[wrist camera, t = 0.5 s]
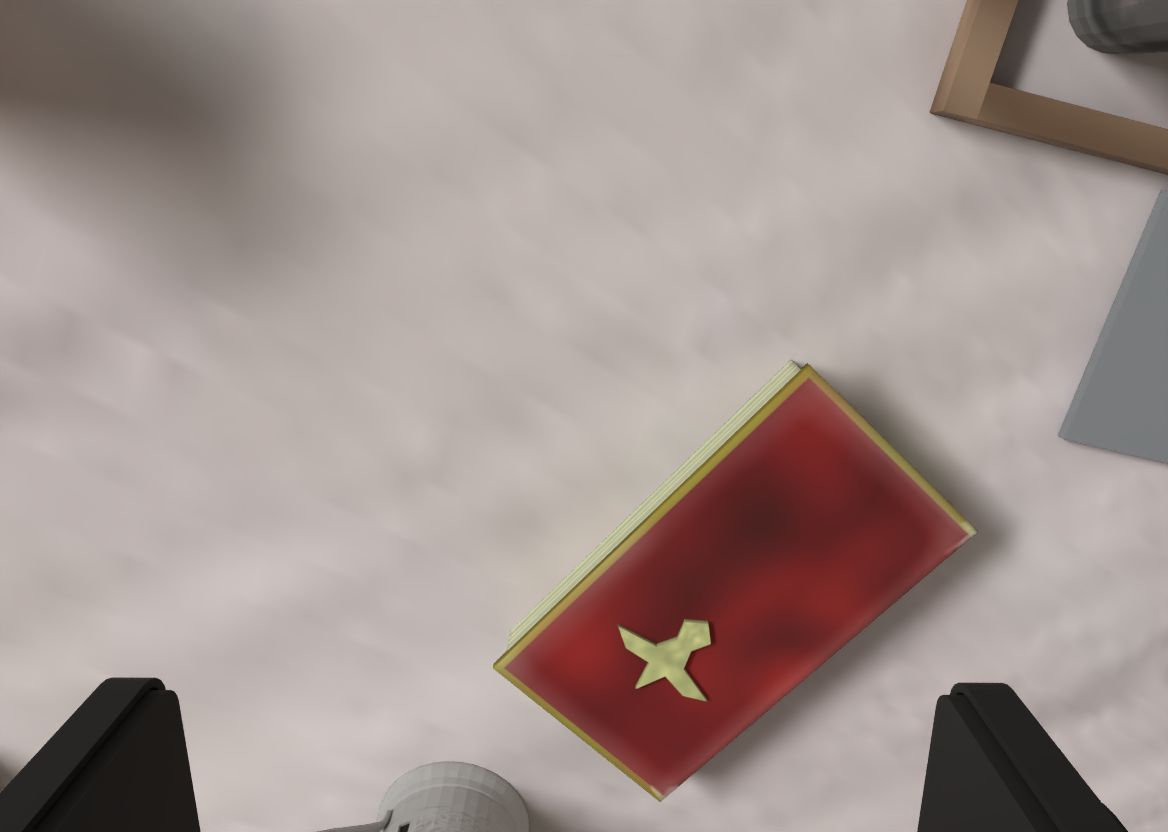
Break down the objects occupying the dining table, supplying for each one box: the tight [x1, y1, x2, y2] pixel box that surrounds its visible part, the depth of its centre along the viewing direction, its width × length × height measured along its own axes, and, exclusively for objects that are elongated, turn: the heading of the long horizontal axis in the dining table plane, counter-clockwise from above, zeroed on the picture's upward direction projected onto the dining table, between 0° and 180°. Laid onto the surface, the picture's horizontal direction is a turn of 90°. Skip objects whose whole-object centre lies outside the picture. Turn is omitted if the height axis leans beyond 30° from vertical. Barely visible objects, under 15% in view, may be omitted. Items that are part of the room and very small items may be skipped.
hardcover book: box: [493, 360, 978, 802], centre depth 42 cm, size 12×21×4 cm, turn 137°
